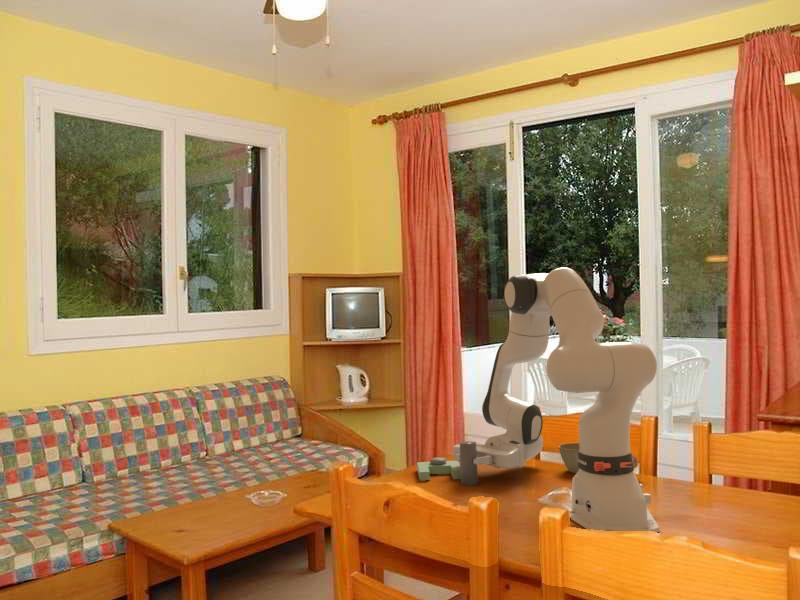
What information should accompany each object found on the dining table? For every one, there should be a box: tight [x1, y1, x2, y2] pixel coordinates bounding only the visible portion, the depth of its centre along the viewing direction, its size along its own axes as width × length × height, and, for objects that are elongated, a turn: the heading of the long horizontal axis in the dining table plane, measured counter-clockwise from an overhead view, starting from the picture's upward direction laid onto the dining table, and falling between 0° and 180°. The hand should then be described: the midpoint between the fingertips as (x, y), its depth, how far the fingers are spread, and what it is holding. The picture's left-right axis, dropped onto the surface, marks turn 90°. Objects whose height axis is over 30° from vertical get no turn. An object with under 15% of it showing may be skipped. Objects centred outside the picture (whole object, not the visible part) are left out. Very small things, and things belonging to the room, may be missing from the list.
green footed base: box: [416, 456, 461, 482], centre depth 205 cm, size 12×12×4 cm
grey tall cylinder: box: [459, 440, 479, 487], centre depth 195 cm, size 4×4×11 cm
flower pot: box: [558, 442, 580, 474], centre depth 204 cm, size 10×10×7 cm
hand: (466, 460), depth 194 cm, fingers open, 5 cm apart
